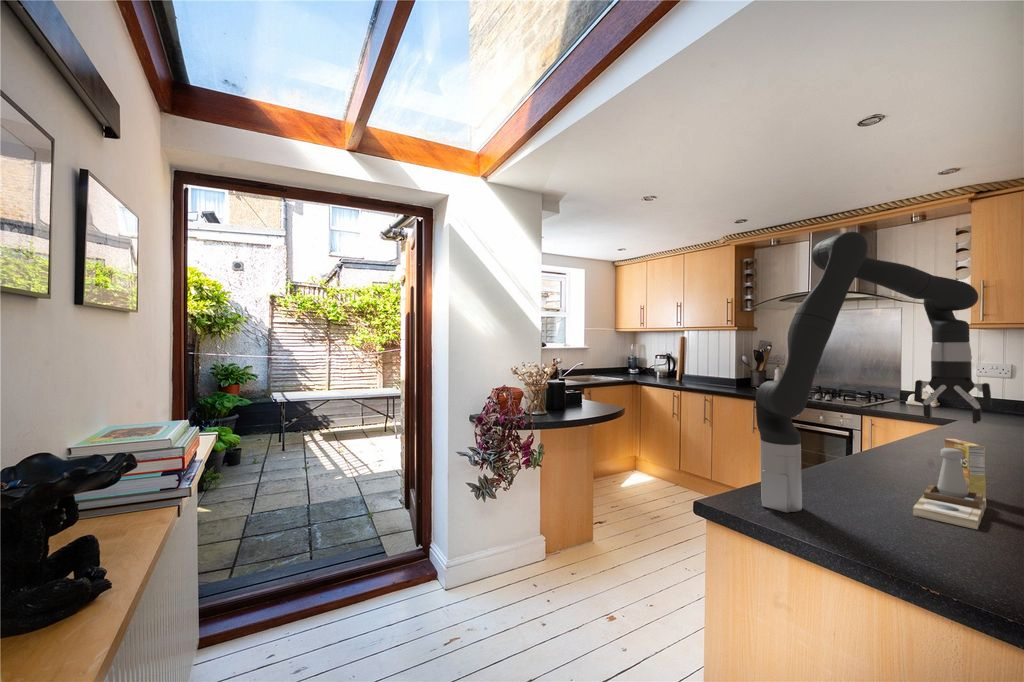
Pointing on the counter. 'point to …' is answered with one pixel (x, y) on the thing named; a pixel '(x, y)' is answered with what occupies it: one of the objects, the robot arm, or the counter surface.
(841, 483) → the counter surface
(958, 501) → the beige organizer tray
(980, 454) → the candy box
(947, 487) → the salt shaker
